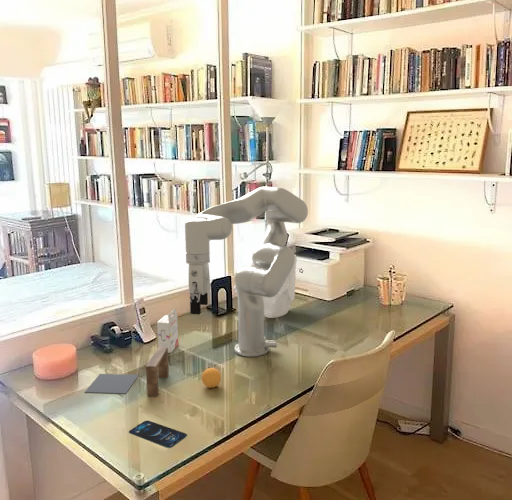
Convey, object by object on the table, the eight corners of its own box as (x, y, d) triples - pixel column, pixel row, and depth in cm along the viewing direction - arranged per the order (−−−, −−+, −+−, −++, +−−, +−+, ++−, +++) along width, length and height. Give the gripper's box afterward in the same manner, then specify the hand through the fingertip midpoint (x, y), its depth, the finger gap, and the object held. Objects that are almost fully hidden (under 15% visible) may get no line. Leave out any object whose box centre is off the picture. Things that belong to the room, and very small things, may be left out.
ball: (222, 382, 173) (222, 365, 171) (219, 391, 167) (219, 373, 166) (203, 382, 173) (203, 364, 172) (200, 390, 167) (199, 372, 166)
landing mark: (138, 375, 178) (138, 374, 178) (125, 393, 166) (125, 393, 166) (99, 374, 179) (99, 373, 179) (84, 392, 167) (84, 391, 167)
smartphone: (146, 419, 151) (188, 434, 143) (146, 421, 151) (188, 436, 143) (126, 432, 144) (169, 448, 136) (126, 434, 144) (169, 450, 136)
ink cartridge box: (166, 343, 206) (164, 306, 202) (178, 344, 205) (177, 307, 201) (157, 352, 197) (156, 314, 194) (170, 353, 196) (169, 314, 193)
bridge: (168, 374, 179) (167, 347, 177) (157, 396, 164) (155, 366, 162) (159, 374, 179) (158, 347, 177) (147, 396, 164) (145, 366, 162)
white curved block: (279, 321, 229) (280, 262, 223) (231, 309, 245) (230, 254, 240) (307, 309, 245) (307, 254, 240) (260, 298, 261) (259, 246, 256)
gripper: (203, 264, 163) (204, 318, 166) (215, 252, 179) (216, 301, 183) (178, 263, 164) (180, 317, 167) (193, 251, 180) (194, 300, 184)
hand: (199, 309), depth 175 cm, fingers open, 9 cm apart
